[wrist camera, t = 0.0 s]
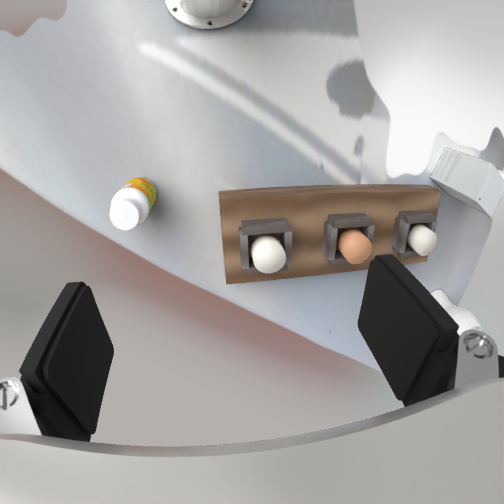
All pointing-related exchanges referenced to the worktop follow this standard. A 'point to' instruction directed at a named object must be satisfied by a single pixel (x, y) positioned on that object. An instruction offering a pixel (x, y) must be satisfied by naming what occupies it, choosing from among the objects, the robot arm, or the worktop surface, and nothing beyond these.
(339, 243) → the terracotta plunger
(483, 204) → the supplement box
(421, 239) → the off-white plunger
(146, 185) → the supplement bottle
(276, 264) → the off-white plunger
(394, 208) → the button board
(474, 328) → the cup
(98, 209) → the worktop surface
